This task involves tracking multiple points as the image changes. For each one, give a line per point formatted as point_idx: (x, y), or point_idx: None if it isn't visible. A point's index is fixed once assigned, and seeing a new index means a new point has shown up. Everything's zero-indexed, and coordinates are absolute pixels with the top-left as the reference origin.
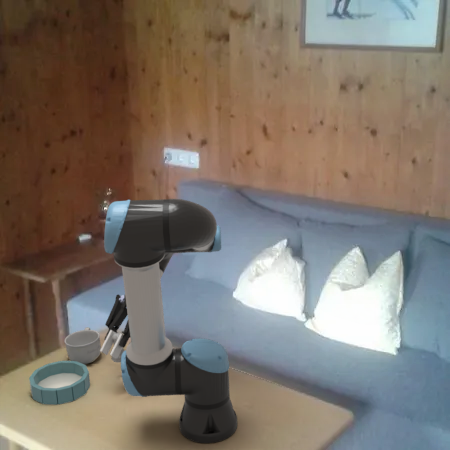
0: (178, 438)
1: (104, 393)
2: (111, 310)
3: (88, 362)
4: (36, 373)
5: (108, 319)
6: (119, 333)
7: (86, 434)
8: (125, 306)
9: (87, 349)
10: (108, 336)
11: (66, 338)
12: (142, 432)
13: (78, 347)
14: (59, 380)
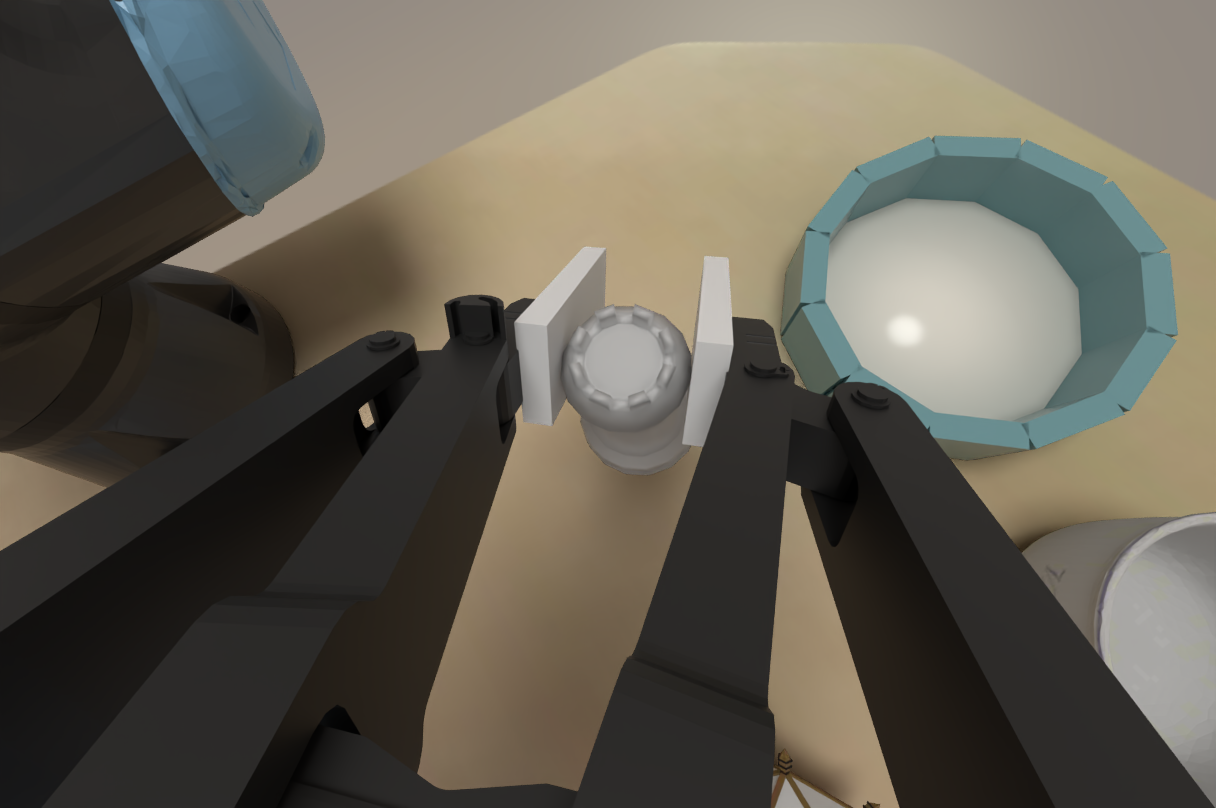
0: (271, 278)
1: None
2: (1066, 618)
3: None
4: (1121, 229)
5: (914, 447)
6: (629, 410)
7: (577, 145)
8: (591, 766)
9: (1075, 573)
10: (711, 309)
11: None
12: (400, 245)
13: (1147, 529)
14: (988, 342)
